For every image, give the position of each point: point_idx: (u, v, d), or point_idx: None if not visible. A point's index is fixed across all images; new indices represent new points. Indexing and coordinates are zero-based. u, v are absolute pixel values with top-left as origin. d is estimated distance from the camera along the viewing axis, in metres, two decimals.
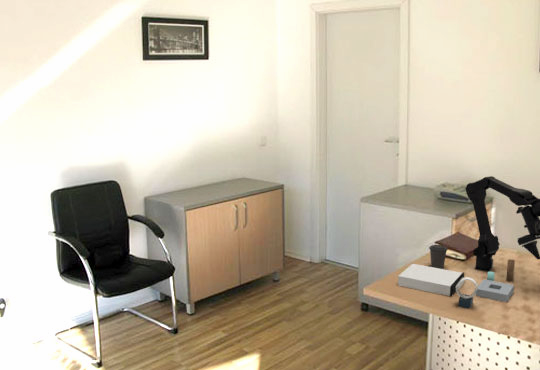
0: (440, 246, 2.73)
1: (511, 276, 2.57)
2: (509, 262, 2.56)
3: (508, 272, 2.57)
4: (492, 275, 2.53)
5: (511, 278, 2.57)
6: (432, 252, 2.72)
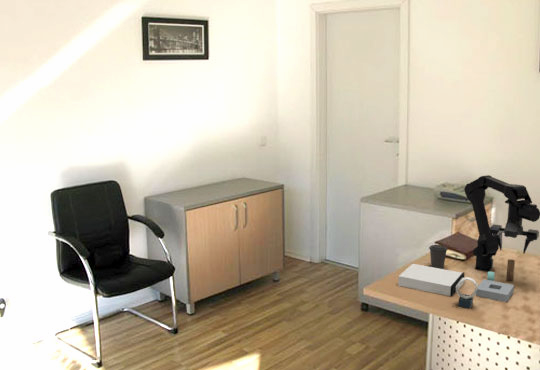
0: (440, 246, 2.73)
1: (511, 276, 2.57)
2: (509, 262, 2.56)
3: (508, 272, 2.57)
4: (492, 275, 2.53)
5: (511, 278, 2.57)
6: (432, 252, 2.72)
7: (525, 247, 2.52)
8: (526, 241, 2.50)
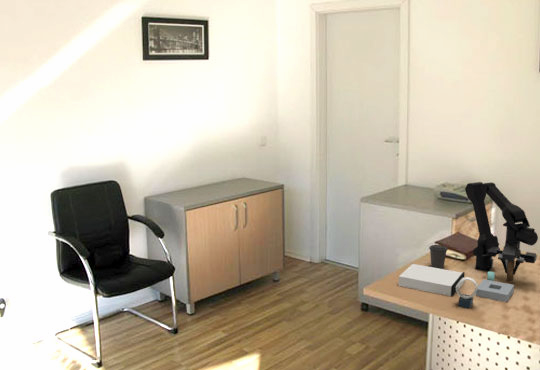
0: (440, 246, 2.73)
1: (511, 276, 2.57)
2: (509, 262, 2.56)
3: (508, 272, 2.57)
4: (492, 275, 2.53)
5: (511, 278, 2.57)
6: (432, 252, 2.72)
7: (515, 268, 2.56)
8: (516, 263, 2.54)
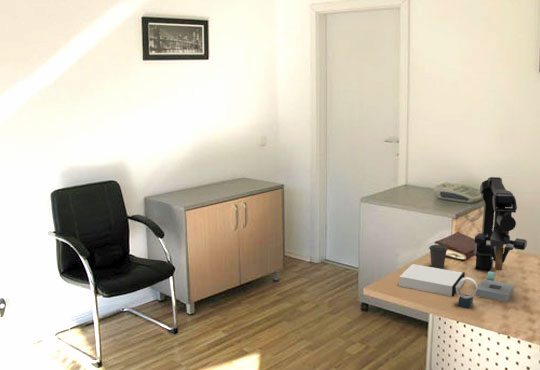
0: (440, 246, 2.73)
1: (500, 264, 2.41)
2: (498, 249, 2.41)
3: (497, 260, 2.42)
4: (492, 275, 2.53)
5: (500, 266, 2.42)
6: (432, 252, 2.72)
7: (504, 256, 2.40)
8: (505, 250, 2.38)
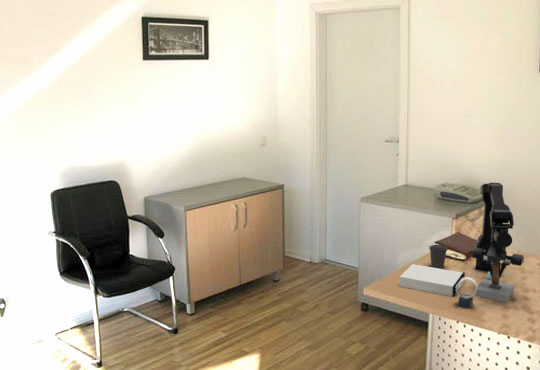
0: (440, 246, 2.73)
1: (497, 279, 2.43)
2: (495, 264, 2.42)
3: (494, 275, 2.43)
4: None
5: (497, 281, 2.43)
6: (432, 252, 2.72)
7: (501, 271, 2.41)
8: (502, 265, 2.39)
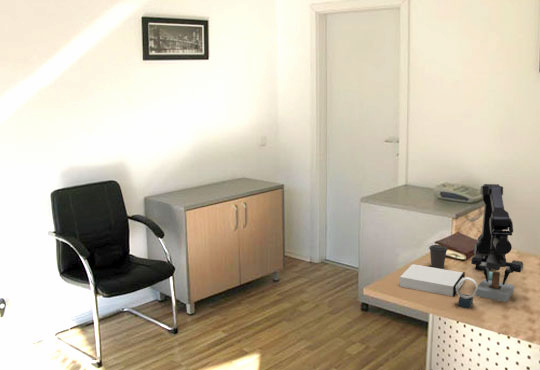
0: (440, 246, 2.73)
1: None
2: (494, 274, 2.43)
3: (493, 285, 2.44)
4: None
5: None
6: (432, 252, 2.72)
7: (504, 278, 2.41)
8: (505, 272, 2.39)
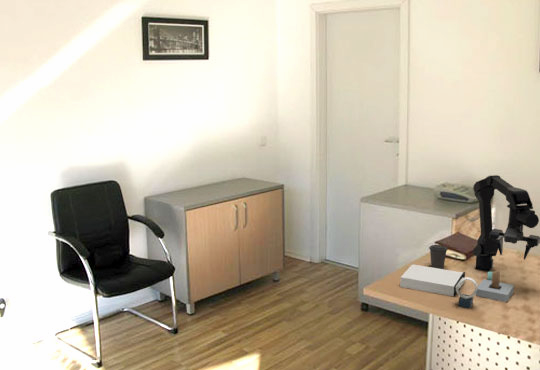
0: (440, 246, 2.73)
1: None
2: (494, 274, 2.43)
3: (493, 285, 2.44)
4: None
5: None
6: (432, 252, 2.72)
7: (525, 253, 2.46)
8: (526, 247, 2.45)
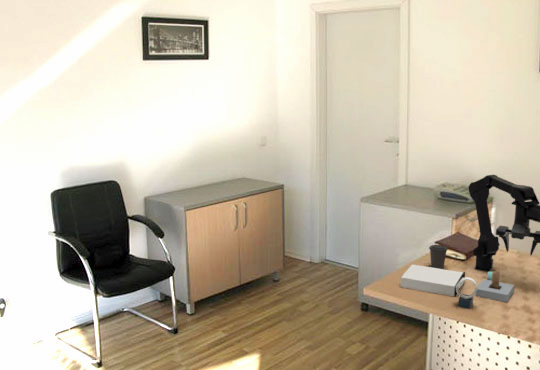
0: (440, 246, 2.73)
1: None
2: (494, 274, 2.43)
3: (493, 285, 2.44)
4: None
5: None
6: (432, 252, 2.72)
7: (532, 249, 2.49)
8: (533, 243, 2.48)
